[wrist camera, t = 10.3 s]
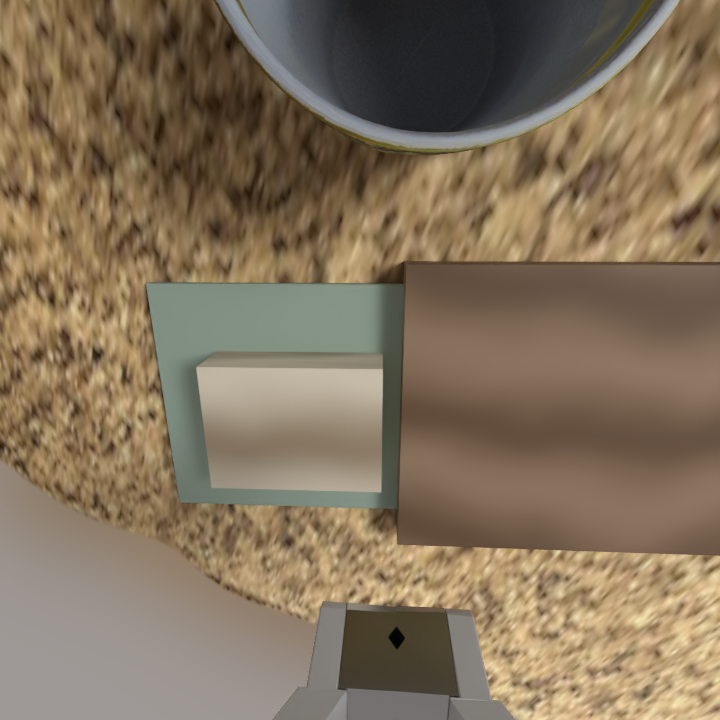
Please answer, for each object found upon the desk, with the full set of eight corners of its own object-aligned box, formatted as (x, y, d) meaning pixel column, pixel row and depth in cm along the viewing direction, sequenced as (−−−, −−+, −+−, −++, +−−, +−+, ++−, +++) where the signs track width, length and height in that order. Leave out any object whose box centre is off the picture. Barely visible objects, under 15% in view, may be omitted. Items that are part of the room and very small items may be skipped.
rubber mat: (151, 282, 20) (145, 283, 19) (403, 283, 19) (403, 284, 19) (183, 497, 23) (179, 502, 23) (396, 503, 23) (396, 509, 22)
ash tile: (218, 350, 20) (196, 367, 18) (382, 352, 20) (382, 369, 17) (230, 460, 22) (211, 487, 19) (381, 463, 21) (381, 492, 19)
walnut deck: (403, 261, 19) (406, 264, 17) (768, 262, 18) (814, 265, 16) (396, 518, 23) (397, 544, 21) (692, 527, 22) (722, 555, 20)
